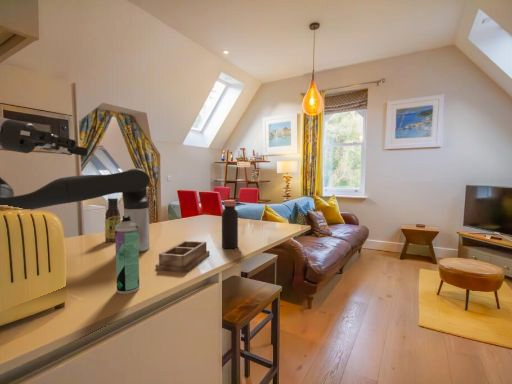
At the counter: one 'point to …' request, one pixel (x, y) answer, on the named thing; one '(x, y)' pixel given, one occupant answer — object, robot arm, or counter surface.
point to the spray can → (127, 256)
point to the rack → (182, 256)
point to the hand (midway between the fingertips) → (81, 148)
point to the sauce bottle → (111, 219)
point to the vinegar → (229, 225)
